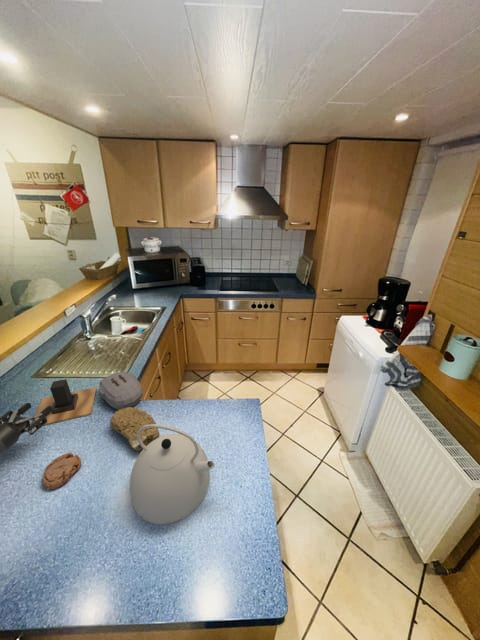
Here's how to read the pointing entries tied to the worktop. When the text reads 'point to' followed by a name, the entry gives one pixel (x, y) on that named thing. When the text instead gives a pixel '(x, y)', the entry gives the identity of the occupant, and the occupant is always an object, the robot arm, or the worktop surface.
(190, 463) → the kettle
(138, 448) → the sponge
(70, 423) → the worktop surface
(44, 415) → the robot arm
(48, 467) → the cookie
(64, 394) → the black block
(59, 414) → the base pad
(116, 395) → the grey rounded bag
